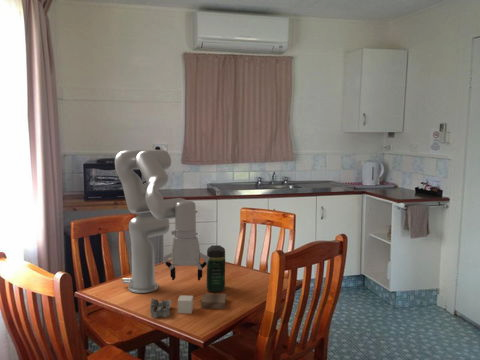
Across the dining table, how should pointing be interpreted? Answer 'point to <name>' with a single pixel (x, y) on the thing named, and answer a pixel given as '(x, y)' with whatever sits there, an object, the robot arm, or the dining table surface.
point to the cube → (185, 304)
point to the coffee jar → (216, 268)
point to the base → (213, 301)
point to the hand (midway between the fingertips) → (186, 279)
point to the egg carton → (160, 308)
